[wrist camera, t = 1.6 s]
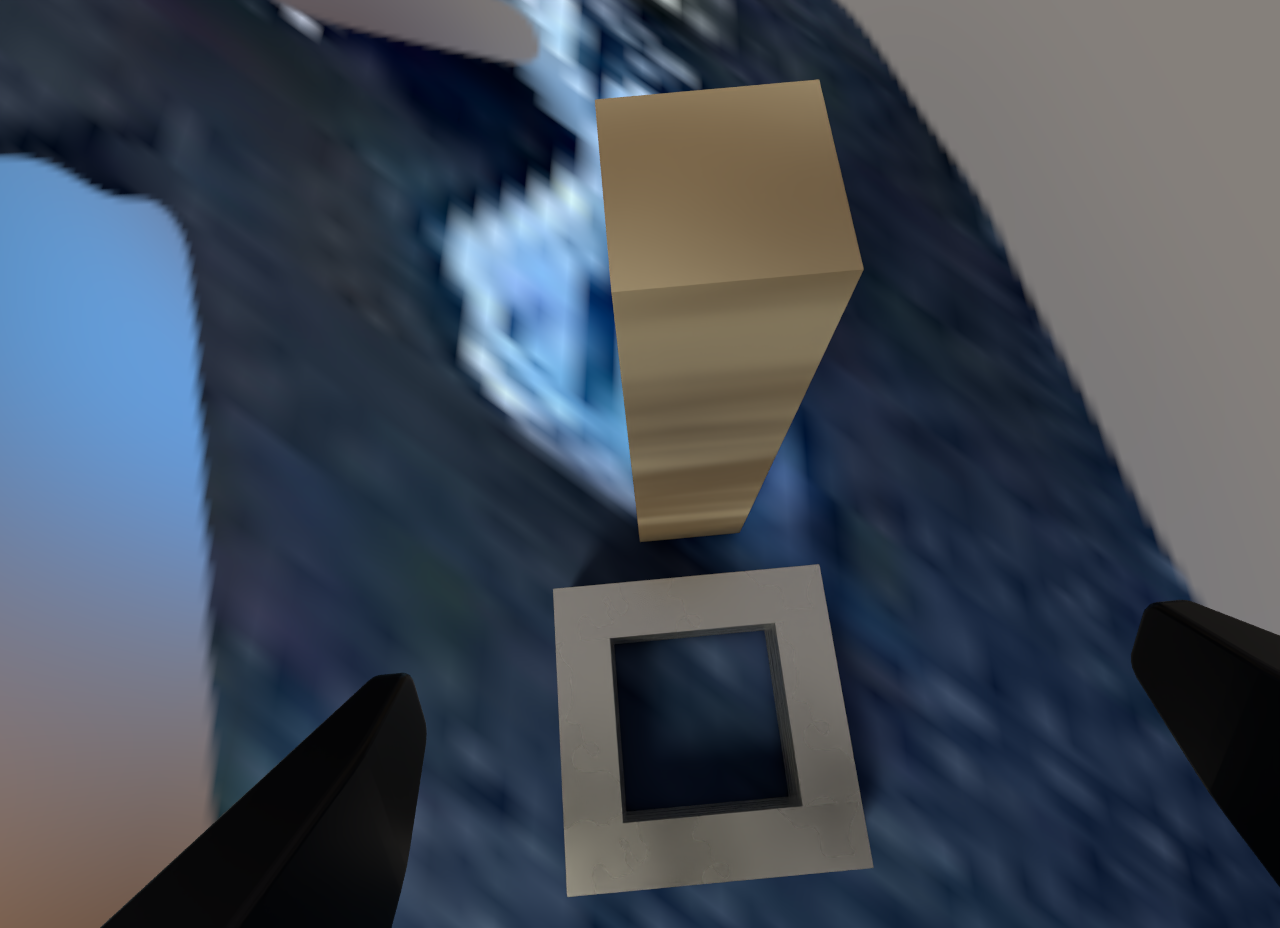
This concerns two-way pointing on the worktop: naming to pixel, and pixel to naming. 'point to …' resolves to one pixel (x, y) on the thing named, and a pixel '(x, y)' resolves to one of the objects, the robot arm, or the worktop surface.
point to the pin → (719, 286)
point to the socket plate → (720, 832)
